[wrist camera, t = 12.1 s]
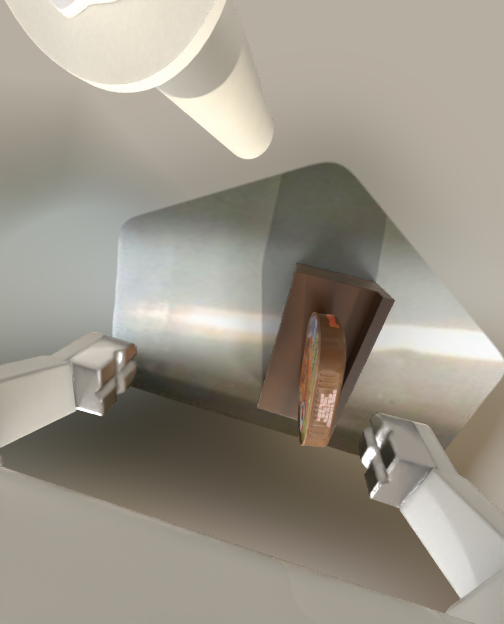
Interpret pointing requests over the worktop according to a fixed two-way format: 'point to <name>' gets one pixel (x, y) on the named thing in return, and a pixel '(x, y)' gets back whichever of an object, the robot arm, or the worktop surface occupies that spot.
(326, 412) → the tin
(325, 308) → the shelf
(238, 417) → the worktop surface
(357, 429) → the worktop surface
